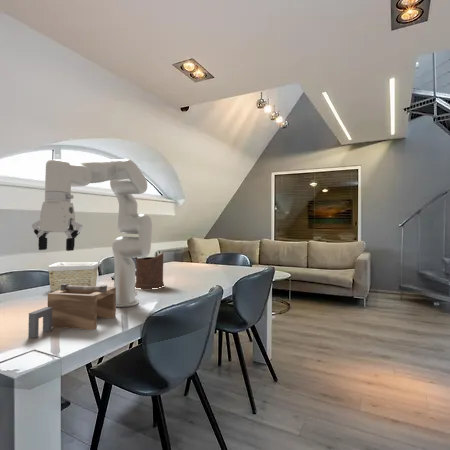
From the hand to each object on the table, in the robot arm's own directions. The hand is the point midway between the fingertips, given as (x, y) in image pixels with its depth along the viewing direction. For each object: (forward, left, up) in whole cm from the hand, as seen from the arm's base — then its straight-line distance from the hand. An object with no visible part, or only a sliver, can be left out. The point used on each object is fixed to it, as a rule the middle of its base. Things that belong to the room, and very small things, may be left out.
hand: (56, 250), depth 103 cm
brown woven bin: (-86, -5, -29) cm, 91 cm away
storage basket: (-72, -42, -29) cm, 88 cm away
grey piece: (-2, -7, -29) cm, 30 cm away
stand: (-17, -1, -29) cm, 33 cm away
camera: (-105, -33, -29) cm, 114 cm away
